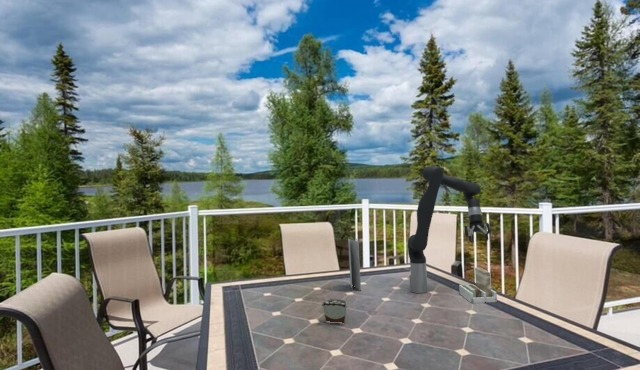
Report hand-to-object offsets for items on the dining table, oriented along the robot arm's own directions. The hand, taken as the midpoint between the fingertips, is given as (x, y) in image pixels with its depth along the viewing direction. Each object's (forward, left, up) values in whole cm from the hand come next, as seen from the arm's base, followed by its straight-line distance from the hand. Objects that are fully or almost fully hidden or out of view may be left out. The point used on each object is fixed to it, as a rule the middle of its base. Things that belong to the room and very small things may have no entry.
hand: (479, 241), depth 218 cm
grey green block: (-17, -9, -28) cm, 34 cm away
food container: (-96, +8, -28) cm, 100 cm away
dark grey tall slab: (-56, +49, -28) cm, 79 cm away
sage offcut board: (-19, -8, -28) cm, 35 cm away
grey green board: (-13, -11, -28) cm, 33 cm away
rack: (-16, -9, -28) cm, 33 cm away
